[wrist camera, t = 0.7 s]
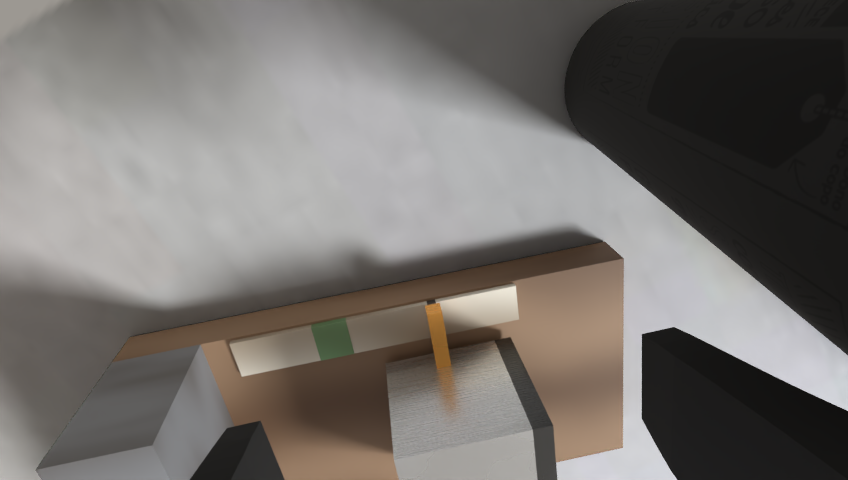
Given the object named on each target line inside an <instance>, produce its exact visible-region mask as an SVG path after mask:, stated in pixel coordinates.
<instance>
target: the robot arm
mask: <svg viewBox="0 0 848 480" xmlns="http://www.w3.org/2000/svg"><path fill="white" fill-rule="evenodd" d="M642 420H643V421H644V423H645V425H646V427H647V429H648V431H649V432H650V434H651V436H652V438H653V440H654V442H655V444H656V445H657V447H658V449H659V451H660V452H661V454H662V456H663V458H664V459H665V461H666V463H667V465H668V466H669V468H670V470H671V471H672V473H673V474H674V475H675V477H676V478H677V480H848V411H846V410H844V409H842V408H840V407H837V406H835V405H833V404H831V403H829V402H827V401H824V400H822V399H820V398H818V397H816V396H814V395H811V394H809V393H807V392H805V391H803V390H801V389H799V388H797V387H795V386H793V385H790V384H788V383H786V382H784V381H782V380H780V379H778V378H776V377H774V376H772V375H770V374H768V373H766V372H764V371H762V370H760V369H758V368H756V367H754V366H752V365H750V364H748V363H746V362H744V361H742V360H740V359H738V358H736V357H734V356H732V355H730V354H728V353H726V352H724V351H722V350H720V349H718V348H716V347H714V346H712V345H710V344H708V343H706V342H704V341H702V340H700V339H698V338H696V337H694V336H692V335H690V334H688V333H686V332H683V331H681V330H679V329H677V328H675V327H672V328H668V329H664V330H659V331H655V332H650V333H646V334H642ZM190 480H285V479H284V477H283V474H282V472H281V469H280V467H279V464H278V462H277V460H276V457H275V455H274V452H273V450H272V447H271V445H270V442H269V440H268V438H267V435H266V433H265V430H264V428H263V425H262V423H261V421H256V422H252V423H247V424H243V425H239V426H234V427H230V428H227V429H226V430H225V431H224V433H223V434H222V435H221V437H220V438H219V439H218V441H217V442H216V443H215V445H214V446H213V448H212V449H211V450H210V452H209V453H208V455H207V456H206V457H205V459H204V460H203V462H202V463H201V464H200V466H199V467H198V469H197V470H196V471H195V473H194V474H193V476H192V477H191V478H190Z"/></svg>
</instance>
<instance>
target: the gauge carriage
mask: <svg viewBox="0 0 848 480" xmlns="http://www.w3.org/2000/svg"><path fill="white" fill-rule="evenodd" d="M425 309H426V314H427V320H428V325H429V331H430V336H431V341H432V347H433V352H434V353H431V354H426V355H421V356H417V357H412V358H407V359H402V360H397V361H393V362H388V363H386V374H387V385H388V397H389V409H390V421H391V432H392V444H393V456H394V463H395V467H396V470H397V474H398V478H399V480H557V471H556V457H555V442H554V428H553V424H552V422H551V420H550V418H549V416H548V414H547V411H546V409H545V407H544V405H543V403H542V401H541V399H540V397H539V395H538V393H537V391H536V389H535V387H534V385H533V383H532V380H531V378H530V376H529V374H528V372H527V370H526V368H525V366H524V364H523V362H522V360H521V358H520V356H519V354H518V351H517V349H516V347H515V345H514V343H513V341H512V339H511V337H508V338H503V339H498V340H494V341H489V342H484V343H479V344H474V345H469V346H465V347H460V348H455V349H450V350H449V349H448V344H447V338H446V332H445V326H444V320H443V314H442V310H441V306H440V303H436V304H431V305H426V306H425Z"/></svg>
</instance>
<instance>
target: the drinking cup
mask: <svg viewBox="0 0 848 480" xmlns="http://www.w3.org/2000/svg"><path fill="white" fill-rule="evenodd" d="M565 100H566V106H567V110H568V113H569V116H570V118H571V120H572V122H573V124H574V126H575V127H576V129H577V130H578V131H579V133H580V134H581V135H582V136H583V137H584V138H585V139H587V140H588V141H589V142H590V143H591V144H593V145H594V146H595V147H596V148H597V149H599V150H600V151H601V152H602V153H603V154H605V155H606V156H607V157H608V158H610V159H611V160H612V161H613V162H614V163H616V164H617V165H618V166H619V167H620V168H622V169H623V170H624V171H625V172H627V173H628V174H629V175H630V176H631V177H633V178H634V179H635V180H636V181H637V182H639V183H640V184H641V185H642V186H643V187H645V188H646V189H647V190H648V191H650V192H651V193H652V194H653V195H654V196H656V197H657V198H658V199H659V200H660V201H662V202H663V203H664V204H665V205H667V206H668V207H669V208H670V209H671V210H673V211H674V212H675V213H676V214H677V215H679V216H680V217H681V218H682V219H683V220H685V221H686V222H687V223H688V224H690V225H691V226H692V227H693V228H694V229H696V230H697V231H698V232H699V233H700V234H702V235H703V236H704V237H705V238H707V239H708V240H709V241H710V242H711V243H713V244H714V245H715V246H716V247H717V248H719V249H720V250H721V251H722V252H723V253H725V254H726V255H727V256H728V257H730V258H731V259H732V260H733V261H734V262H736V263H737V264H738V265H739V266H740V267H742V268H743V269H744V270H745V271H746V272H748V273H749V274H750V275H751V276H753V277H754V278H755V279H756V280H757V281H759V282H760V283H761V284H762V285H763V286H765V287H766V288H767V289H768V290H770V291H771V292H772V293H773V294H774V295H776V296H777V297H778V298H779V299H780V300H782V301H783V302H784V303H785V304H786V305H788V306H789V307H790V308H791V309H793V310H794V311H795V312H796V313H797V314H799V315H800V316H801V317H802V318H803V319H805V320H806V321H807V322H808V323H810V324H811V325H812V326H813V327H814V328H816V329H817V330H818V331H819V332H820V333H822V334H823V335H824V336H825V337H826V338H828V339H829V340H830V341H831V342H833V343H834V344H835V345H836V346H837V347H839V348H840V349H841V350H842V351H843V352H845V353H846V354H847V355H848V0H640V1H636V2H632V3H628V4H625V5H622V6H620V7H618V8H616V9H614V10H612V11H610V12H608V13H607V14H605V15H604V16H603V17H601V18H600V19H599V20H598V21H596V22H595V23H594V24H593V25H592V26H591V27H590V28H589V30H588V31H587V32H586V33H585V34H584V36H583V37H582V38H581V40H580V42H579V43H578V45H577V47H576V48H575V50H574V52H573V55H572V57H571V60H570V62H569V65H568V69H567V73H566V79H565Z"/></svg>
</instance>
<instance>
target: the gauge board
mask: <svg viewBox="0 0 848 480" xmlns="http://www.w3.org/2000/svg"><path fill="white" fill-rule="evenodd" d="M623 277H624V258H622V257H621V256H620V255H619V254H618V253H617V252H616V251H615V250H614V249H612V248H611V247H610V246H609V245H608V244H607V243H606V242H600V243H595V244H591V245H586V246H581V247H576V248H571V249H566V250H561V251H556V252H551V253H546V254H541V255H536V256H531V257H526V258H521V259H516V260H511V261H506V262H501V263H496V264H491V265H486V266H481V267H476V268H471V269H466V270H461V271H456V272H451V273H446V274H441V275H436V276H431V277H426V278H421V279H416V280H411V281H406V282H402V283H397V284H392V285H387V286H382V287H377V288H372V289H367V290H362V291H357V292H352V293H347V294H342V295H337V296H332V297H327V298H322V299H317V300H312V301H307V302H302V303H297V304H292V305H287V306H282V307H277V308H272V309H267V310H262V311H257V312H252V313H247V314H242V315H237V316H232V317H227V318H222V319H217V320H213V321H208V322H203V323H198V324H193V325H188V326H183V327H178V328H173V329H168V330H163V331H158V332H153V333H148V334H143V335H138V336H133V337H129V339H128V340H127V342H126V343H125V344H124V346H123V347H122V349H121V350H120V351H119V353H118V354H117V356H116V357H115V359H114V360H113V361H112V363H111V364H110V366H109V367H108V368H107V370H106V371H105V373H104V374H103V375H102V377H101V378H100V380H99V381H98V382H97V384H96V385H95V387H94V388H93V390H92V391H91V392H90V394H89V395H88V397H87V398H86V399H85V401H84V402H83V404H82V405H81V406H80V408H79V409H78V411H77V412H76V413H75V415H74V416H73V418H72V419H71V421H70V422H69V423H68V425H67V426H66V428H65V429H64V430H63V432H62V433H61V435H60V436H59V437H58V439H57V440H56V442H55V443H54V444H53V446H52V447H51V449H50V450H49V452H48V453H47V454H46V456H45V457H44V459H43V460H42V461H41V463H40V464H39V466H38V467H37V468H36V472H37V473H38V475H39V476H40V478H41V479H42V480H190V478H191V477H192V476H193V474H194V473H195V471H196V470H197V469H198V467H199V466H200V464H201V463H202V462H203V460H204V459H205V457H206V456H207V455H208V453H209V452H210V450H211V449H212V448H213V446H214V445H215V443H216V442H217V441H218V439H219V438H220V437H221V435H222V434H223V433H224V431H225V430H226V429H227V428H230V427H234V426H239V425H243V424H247V423H252V422H256V421H261V423H262V425H263V428H264V430H265V433H266V435H267V438H268V440H269V442H270V445H271V447H272V450H273V452H274V455H275V457H276V460H277V462H278V464H279V467H280V469H281V472H282V474H283V477H284V479H285V480H399V478H398V474H397V470H396V467H395V463H394V456H393V444H392V432H391V421H390V409H389V397H388V385H387V374H386V363H388V362H393V361H397V360H402V359H407V358H412V357H417V356H421V355H426V354H431V353H434V352H433V347H432V341H431V336H430V331H429V325H428V320H427V314H426V309H425V306H426V305H431V304H436V303H440V306H441V310H442V314H443V320H444V326H445V332H446V338H447V344H448V349H449V350H450V349H455V348H460V347H465V346H469V345H474V344H479V343H484V342H489V341H494V340H498V339H503V338H508V337H511V339H512V341H513V343H514V345H515V347H516V349H517V351H518V354H519V356H520V358H521V360H522V362H523V364H524V366H525V368H526V370H527V372H528V374H529V376H530V378H531V380H532V383H533V385H534V387H535V389H536V391H537V393H538V395H539V397H540V399H541V401H542V403H543V405H544V407H545V409H546V411H547V414H548V416H549V418H550V420H551V422H552V424H553V428H554V442H555V457H556V462H560V461H564V460H569V459H573V458H578V457H582V456H587V455H592V454H596V453H601V452H605V451H610V450H614V449H619V448H623Z"/></svg>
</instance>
